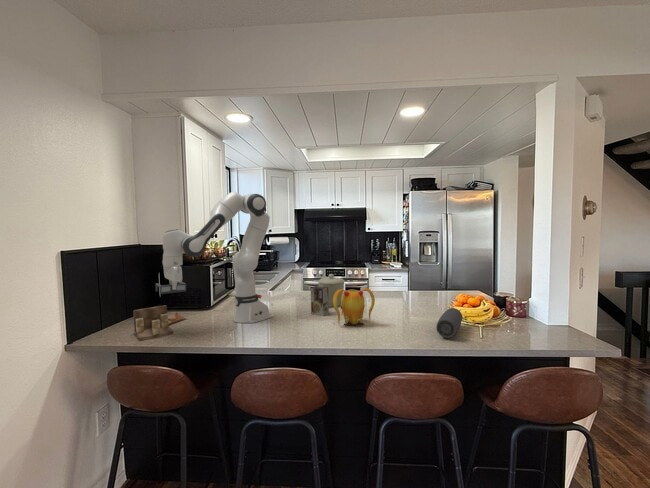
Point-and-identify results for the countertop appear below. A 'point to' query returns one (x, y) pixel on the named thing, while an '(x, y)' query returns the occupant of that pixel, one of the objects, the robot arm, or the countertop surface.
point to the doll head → (352, 306)
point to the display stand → (151, 323)
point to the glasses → (168, 288)
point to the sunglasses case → (175, 319)
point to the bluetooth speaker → (449, 322)
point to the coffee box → (319, 300)
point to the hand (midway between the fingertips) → (173, 289)
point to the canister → (332, 288)
